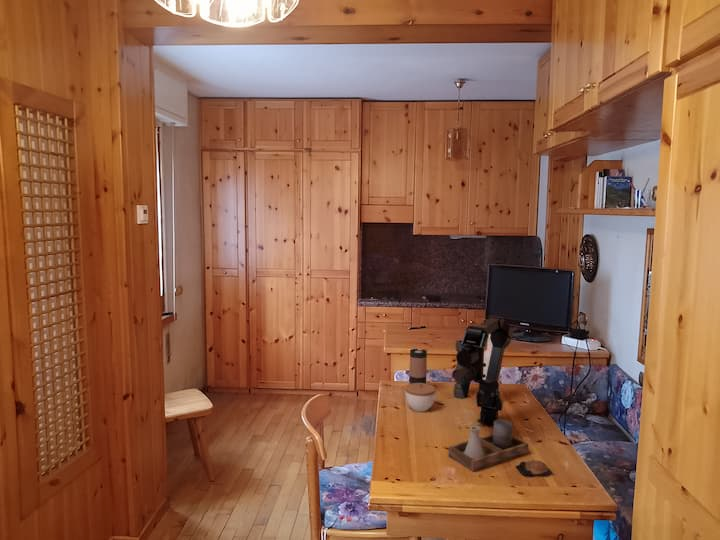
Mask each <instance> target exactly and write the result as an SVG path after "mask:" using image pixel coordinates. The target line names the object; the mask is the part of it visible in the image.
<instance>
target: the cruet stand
mask: <svg viewBox="0 0 720 540" xmlns="http://www.w3.org/2000/svg"><path fill="white" fill-rule="evenodd" d="M492 432H493V433H491V434H487V435H484V436H479V438H480V442H481V445H482V448H483V451H484V454H485V456H483V457H479V458H476V459H472V458H471V457H469V456H467V455H466V454H464V451H465V449H466V447H467V444H468V442H469V440H467V441H463V442H459V443H457V444H452V445H449V446H448V457H449V458H451V459H452V460H453V461H455V462H457V463H458V464H460V465H461V466H463V467H465V468H467V469H468V470H469V471H471V472H473V473H474V472H477V471H480V470H483V469H485V468H489V467H492V466H495V465H498V464H501V463H504V462H507V461H510V460H513V459H517V458H519V457H522V456H526V455H528V454H529V443H527V442H525V441H523V440H521V439H519V438H517V437H514V436H513V433H514V423H513V422H512V421H510V420H507V419H502V418H498V420H495V421H494V426H493V431H492Z"/></svg>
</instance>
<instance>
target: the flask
mask: <svg viewBox="0 0 720 540" xmlns="http://www.w3.org/2000/svg"><path fill="white" fill-rule="evenodd" d="M469 429H470V435H469V436H470V437H469V439H468V441H469V442H468V444H467V447H466V449H465V451H464V454H466V455H467V456H469V457H471V458H472V459H476V458H479V457H483V456H485V454H484V451H483V448H482V445H481V442H480V431H481V428H480V426H477V425H471V426H470V427H469Z"/></svg>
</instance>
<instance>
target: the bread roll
mask: <svg viewBox="0 0 720 540" xmlns="http://www.w3.org/2000/svg"><path fill="white" fill-rule="evenodd" d="M515 469H517V471H518V472H519V474H520V475H521V476H523V477H524V478H525V479H526V478H540V477H541V478H542V477H543V478H544V477H548V476H549V477H550V476H555V472H554V471H552V470H551V468H550V467H548V466H547V464H546V463H544V462H543V461H541V460H529V461H521V462H520V463H519V464H517V465H515Z"/></svg>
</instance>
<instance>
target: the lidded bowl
mask: <svg viewBox="0 0 720 540" xmlns="http://www.w3.org/2000/svg"><path fill="white" fill-rule="evenodd" d="M404 389H405V390H404V392H405V400H406V403H407V405H408V406H409V408H410V409H411V410H412V411H414V412H418V413H419V412H420V413H425V412H428V411H429V410H430V408H432V406H433V405H434V403H435V398H436V386H434V385H432V384H429V383H426V384H425V383H412V384H410V383H408V384H407V385H406V386H405V388H404Z"/></svg>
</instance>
